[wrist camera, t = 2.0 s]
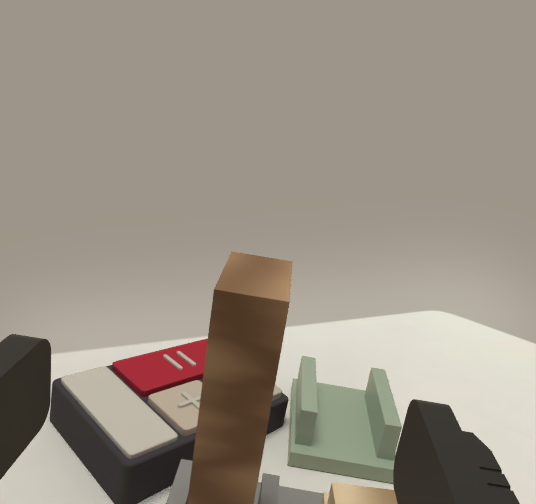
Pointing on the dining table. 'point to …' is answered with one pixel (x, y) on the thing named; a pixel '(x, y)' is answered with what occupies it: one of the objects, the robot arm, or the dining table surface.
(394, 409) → the board holder
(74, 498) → the dining table surface
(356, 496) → the offcut stack
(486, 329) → the dining table surface
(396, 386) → the dining table surface
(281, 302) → the tall board
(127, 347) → the dining table surface
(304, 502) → the rack
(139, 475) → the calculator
